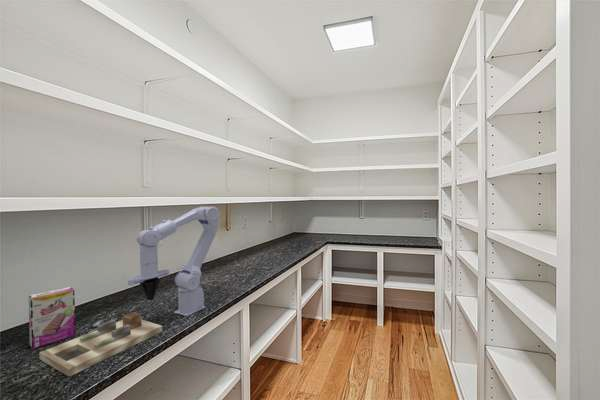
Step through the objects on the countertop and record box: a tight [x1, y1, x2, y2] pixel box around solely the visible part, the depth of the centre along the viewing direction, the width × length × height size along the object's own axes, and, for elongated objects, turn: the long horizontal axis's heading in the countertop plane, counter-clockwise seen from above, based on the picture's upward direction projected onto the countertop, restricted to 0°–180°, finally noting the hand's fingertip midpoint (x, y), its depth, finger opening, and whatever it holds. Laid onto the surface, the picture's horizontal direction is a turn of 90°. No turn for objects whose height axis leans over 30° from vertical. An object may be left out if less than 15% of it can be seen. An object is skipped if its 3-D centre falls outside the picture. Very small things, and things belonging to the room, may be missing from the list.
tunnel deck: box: [38, 318, 163, 377], centre depth 90 cm, size 27×18×5 cm, turn 151°
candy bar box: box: [28, 286, 76, 350], centre depth 93 cm, size 11×5×16 cm, turn 141°
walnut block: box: [122, 311, 142, 330], centre depth 97 cm, size 4×4×4 cm
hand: (150, 299), depth 103 cm, fingers closed
